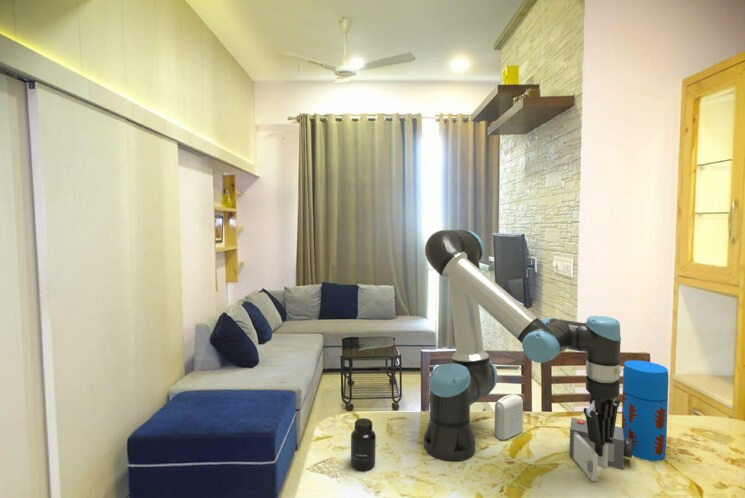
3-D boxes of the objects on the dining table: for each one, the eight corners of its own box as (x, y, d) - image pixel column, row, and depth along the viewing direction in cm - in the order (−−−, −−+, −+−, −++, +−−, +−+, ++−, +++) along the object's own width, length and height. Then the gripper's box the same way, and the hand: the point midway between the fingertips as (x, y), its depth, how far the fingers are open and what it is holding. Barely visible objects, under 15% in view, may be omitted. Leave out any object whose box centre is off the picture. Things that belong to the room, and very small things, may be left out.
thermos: (661, 445, 119) (664, 363, 118) (670, 465, 109) (673, 375, 108) (618, 438, 124) (620, 358, 122) (623, 455, 114) (626, 369, 113)
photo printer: (513, 426, 131) (513, 389, 130) (524, 432, 127) (525, 394, 127) (492, 436, 125) (492, 397, 125) (503, 442, 122) (503, 402, 121)
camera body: (569, 456, 114) (570, 427, 113) (571, 443, 121) (571, 415, 120) (632, 472, 106) (633, 440, 106) (630, 456, 113) (630, 427, 113)
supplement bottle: (357, 474, 106) (357, 430, 105) (346, 461, 112) (346, 419, 111) (380, 467, 109) (379, 424, 109) (368, 455, 115) (368, 414, 115)
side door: (569, 457, 113) (569, 431, 113) (576, 457, 113) (576, 431, 113) (589, 482, 102) (590, 453, 102) (597, 482, 102) (598, 453, 102)
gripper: (603, 388, 96) (601, 482, 98) (631, 376, 103) (629, 465, 104) (573, 378, 103) (572, 466, 104) (601, 368, 109) (600, 451, 111)
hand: (601, 466), depth 104 cm, fingers closed
